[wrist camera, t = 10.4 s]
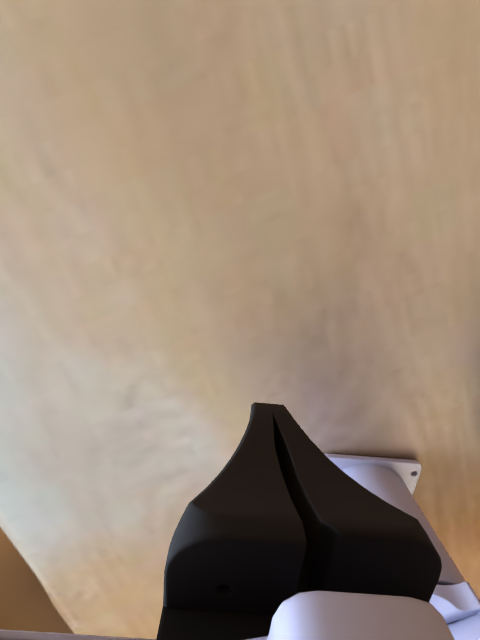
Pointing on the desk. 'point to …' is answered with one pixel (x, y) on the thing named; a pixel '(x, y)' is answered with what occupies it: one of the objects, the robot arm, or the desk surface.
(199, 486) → the desk surface
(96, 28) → the desk surface
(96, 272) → the desk surface
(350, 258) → the desk surface
